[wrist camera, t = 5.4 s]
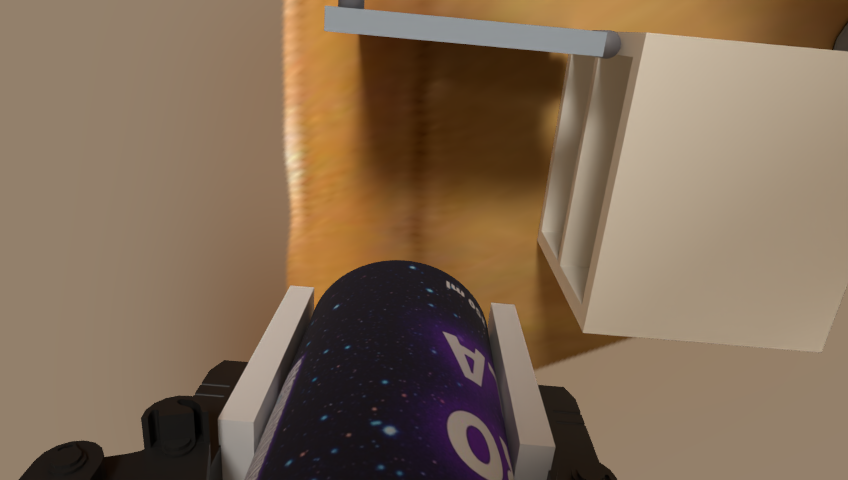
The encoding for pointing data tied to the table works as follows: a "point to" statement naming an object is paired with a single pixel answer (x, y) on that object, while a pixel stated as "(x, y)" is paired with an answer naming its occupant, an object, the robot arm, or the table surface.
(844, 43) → the cup
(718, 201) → the cabinet
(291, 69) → the table surface
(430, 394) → the beverage can
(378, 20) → the door
